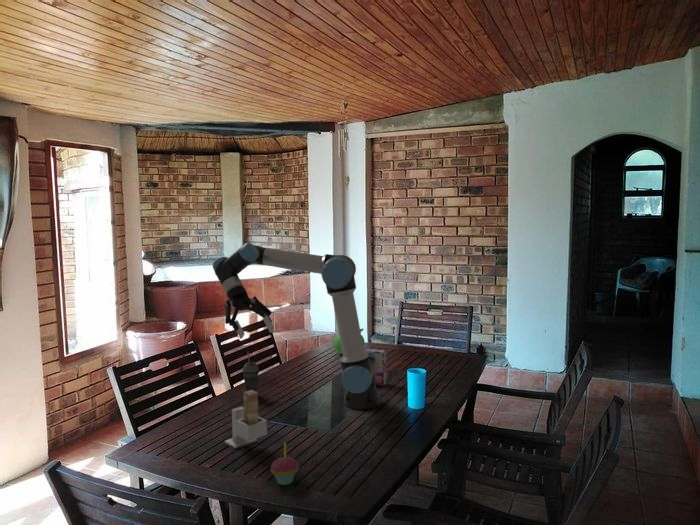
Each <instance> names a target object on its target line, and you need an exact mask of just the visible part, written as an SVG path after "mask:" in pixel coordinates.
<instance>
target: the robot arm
mask: <svg viewBox="0 0 700 525" xmlns="http://www.w3.org/2000/svg"><path fill="white" fill-rule="evenodd" d="M251 265H261V266H266V267H267V266H268V267H269V266H270V267H273V268H275V267H276V268H282V269H287V270H295V271H301V272H307V273H314V274H320V275H321V278H322V280H323V282H324V284H325V288H326V293H327V295H329V296H330V297H331V298H332V305H333V309H334V314H335V319H336V320H335V321H336V324H337V326H336V327H337V332H338V331H339V336H340V342H341V347H342V352H343V354H342V356H341V358H339V359H340V360H339V361H340V367H341V372H342V373H341V384H342V386H343V388H344V389H345V390H346V392H345V395H344V399H343V400H344V406H345V407H347V408H350V409H353V410H361V411H362V410H371V408H372V409H375V408H377V407H379V406H380V403H381V402H380V401H381V400H380V398H381V397H380V395H379V393H378V389H377V386H376V373H375V359H376V356H375V352H374V351H371V350H364V349H365V347H364V348H363V342H362V337H361V335H362V333H361V332H360V329H361V326H360V322H359V315H358V311H357V307H356V301H355V294H354V293H355V291H356V289H357V285H356V279H355V276H356V273H357V272H356V270H357V267H356V263H355V261H354V260H353V259H352V258H351V257H350V256H348V255H343V254H330V253H329V254H328V253H327V254H324V255H318V254H313V253H312V254H311V253H310V254H309V253H303V252H299V251H298V252H297V251H292V250H291V251H290V250H283V249H279V248H278V249H277V248H270V247H263V246H260V245H254V244H252V243H251V242H246V243H244V244H243V245H241V246H240V247H239V248H238V249H237V250H236V251H234V252H233V253H232V254H231V255H230V256H229V257H227V256H221V257H219V258H216V259H215V260H214V261H213V263H212V269H213V271H214V275H215V276H216V278H217V279H218V280H219V283H220V284H221V287H222V288H223V291H224V293H225V295H226V297H227V300H226V301H225V303H224V308H225V316H224V317H225V318H224V323H225V324H226V325H229V326H230V327H232V328H233V330H234V331H235V332H236V333H237V334H238V335H237V336H238V337H239V339H241V340H242V339H243V338H244V336H245V332H244V330H243V328H242V326H241V324H240V322H239V321H238V320H237V316H238V313H239V311H240V312H243V311H251V312H253V313H254V314H257V315H258V316H259V317H262V318H263V319H262V320H263V322H264V324H265V326H266V328H267V329H268V331H269V333H270V334H271V333H272V332H274V330H275V326H274V325H273V323H272V322H273V321H272V319H271V317H270V316H271V315H272V313H273V311H271V309H270V308H268V307H267V306H266V305H265V304H264V303H262V302H261V301H260V300H259V299H258V298H257V296H253V297H251V298H250V297H249V294H248V292H247V290H246V288H245V286H244V284H243V282H242V280H241V279H240V276H239V274H240V273H241V272H242V271H243V270H244V269H246V268H247V267H248V266H251ZM232 307H234V310H233V314H232V313H231V311H232ZM231 314H232V316H231Z"/></svg>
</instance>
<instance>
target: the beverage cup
mask: <svg viewBox="0 0 700 525" xmlns="http://www.w3.org/2000/svg"><path fill="white" fill-rule="evenodd" d="M246 355H247V361H248V362H246V363H245V364H244V365H243V368H242V371H241V372H242V374H243V381H244V389H245V391H244V392H246V391H250V390H254V391H256V392H258V379H259V373H260V369H259V365H258V364H257V363H256V362H255V361H250V354H249V351H247V354H246Z"/></svg>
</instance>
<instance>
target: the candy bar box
mask: <svg viewBox="0 0 700 525" xmlns="http://www.w3.org/2000/svg"><path fill="white" fill-rule="evenodd" d="M364 350H371V351H374V352H375V356H376V359H375V373H376V387H378V386H379V387H385V386H386V385H387V350H386V349H375V348H365V347H364Z"/></svg>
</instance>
